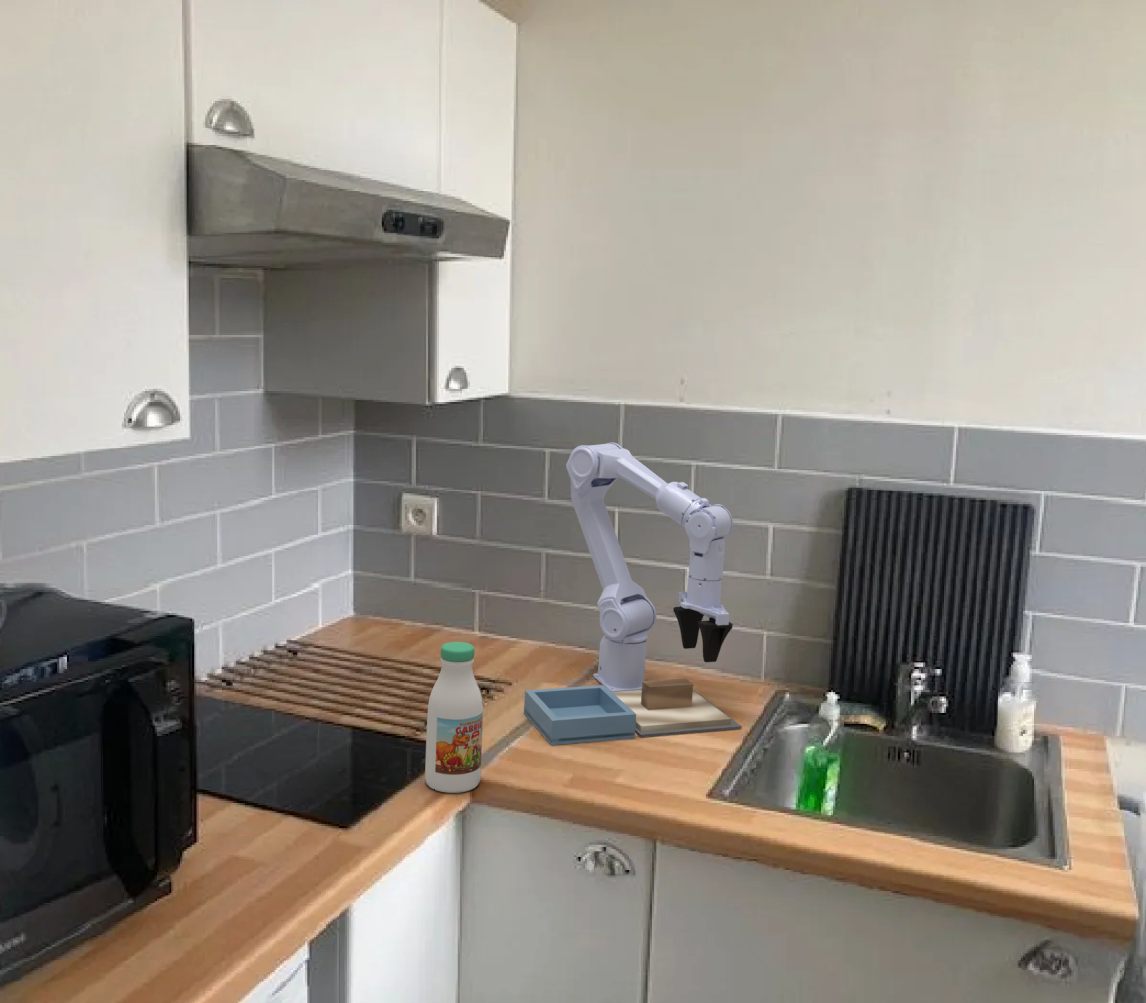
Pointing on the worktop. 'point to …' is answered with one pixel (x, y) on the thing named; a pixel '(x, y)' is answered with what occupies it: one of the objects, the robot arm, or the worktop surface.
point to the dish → (579, 714)
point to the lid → (671, 706)
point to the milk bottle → (454, 723)
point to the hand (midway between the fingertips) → (699, 654)
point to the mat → (690, 729)
